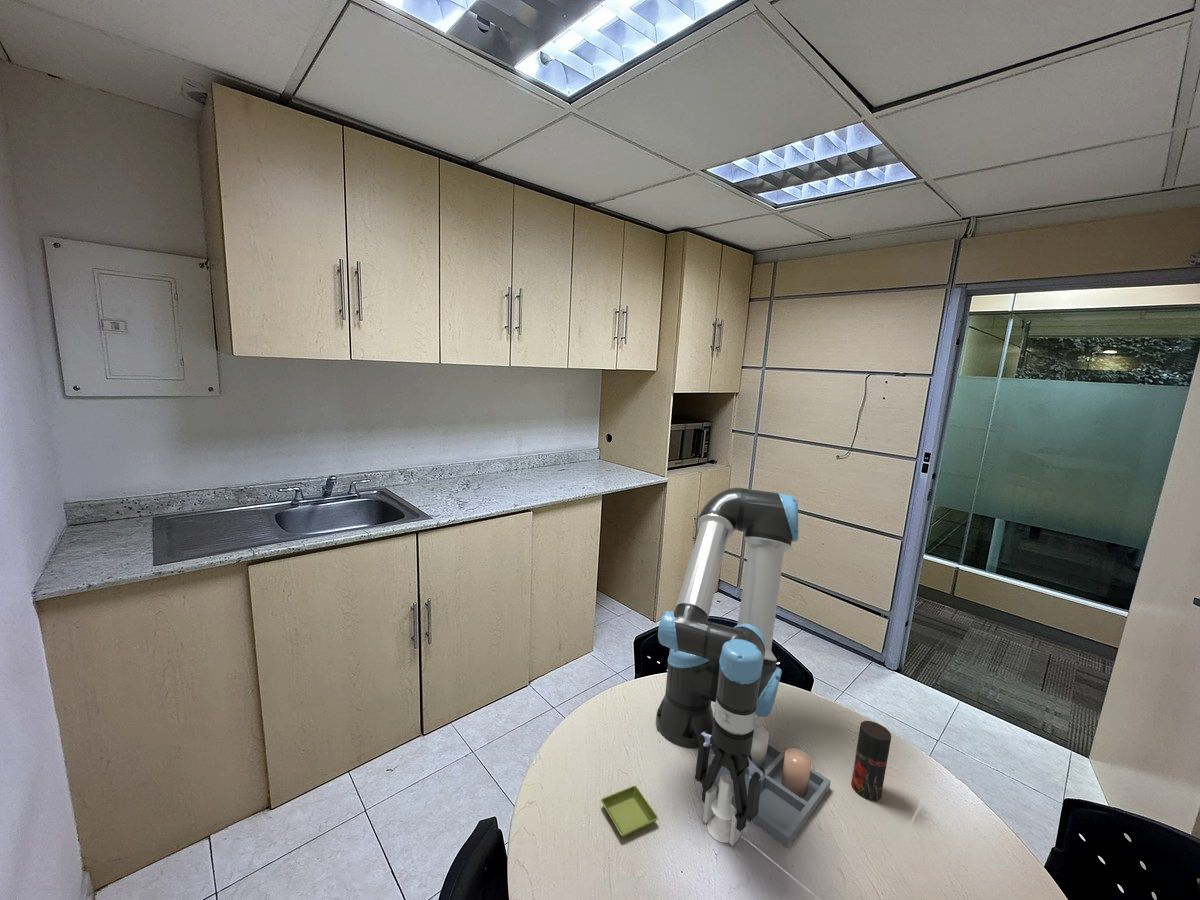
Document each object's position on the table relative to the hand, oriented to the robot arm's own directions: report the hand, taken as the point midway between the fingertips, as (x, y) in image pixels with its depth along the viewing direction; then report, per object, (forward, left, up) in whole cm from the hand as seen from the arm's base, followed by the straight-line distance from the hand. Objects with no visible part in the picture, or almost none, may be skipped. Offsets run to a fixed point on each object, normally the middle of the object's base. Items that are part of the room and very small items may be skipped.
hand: (721, 828), depth 93 cm
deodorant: (+16, +34, 0) cm, 38 cm away
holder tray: (0, +17, 0) cm, 17 cm away
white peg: (0, 0, 0) cm, 0 cm away
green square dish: (-14, -12, -1) cm, 18 cm away
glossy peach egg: (+5, +22, 0) cm, 23 cm away
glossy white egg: (-5, +22, 0) cm, 23 cm away
